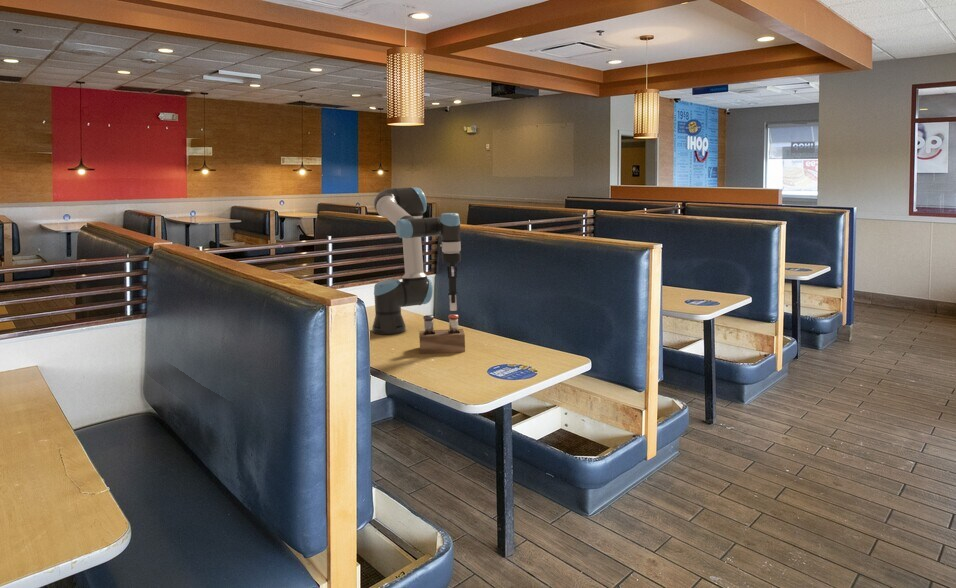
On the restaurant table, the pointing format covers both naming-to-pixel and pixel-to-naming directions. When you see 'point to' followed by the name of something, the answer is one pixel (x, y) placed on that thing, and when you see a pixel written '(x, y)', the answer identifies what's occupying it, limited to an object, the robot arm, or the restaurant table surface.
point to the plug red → (453, 323)
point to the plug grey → (428, 324)
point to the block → (442, 342)
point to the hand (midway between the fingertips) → (453, 310)
